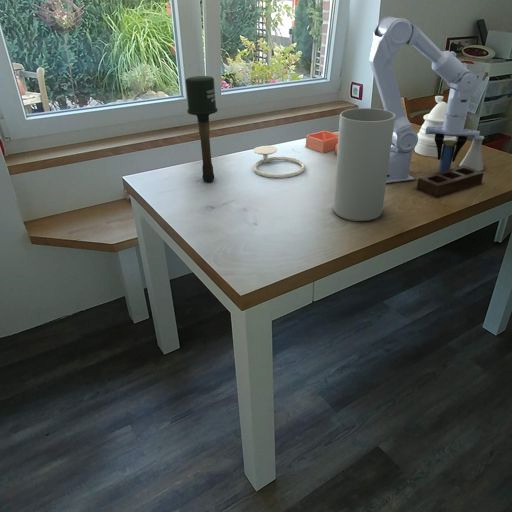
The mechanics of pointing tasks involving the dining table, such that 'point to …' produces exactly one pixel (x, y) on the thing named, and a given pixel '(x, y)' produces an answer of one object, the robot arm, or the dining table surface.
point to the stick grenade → (202, 115)
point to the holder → (449, 181)
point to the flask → (474, 155)
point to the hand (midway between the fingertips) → (446, 159)
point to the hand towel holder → (270, 150)
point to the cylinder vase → (362, 162)
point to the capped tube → (447, 154)
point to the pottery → (322, 141)
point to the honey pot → (432, 119)
